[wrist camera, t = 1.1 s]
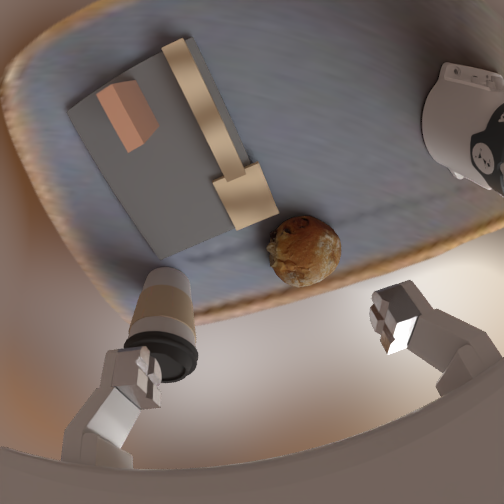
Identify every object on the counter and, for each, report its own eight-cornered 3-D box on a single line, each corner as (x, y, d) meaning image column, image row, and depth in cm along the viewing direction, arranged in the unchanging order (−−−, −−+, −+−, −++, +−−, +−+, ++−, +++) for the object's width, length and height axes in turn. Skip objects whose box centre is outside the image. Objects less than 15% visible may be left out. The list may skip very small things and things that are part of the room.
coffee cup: (163, 313, 45) (156, 395, 33) (126, 277, 40) (105, 362, 28) (209, 291, 44) (213, 378, 32) (173, 250, 38) (163, 339, 26)
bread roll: (283, 261, 47) (308, 302, 43) (245, 246, 39) (272, 296, 35) (330, 221, 44) (360, 261, 39) (300, 196, 36) (337, 243, 31)
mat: (193, 38, 23) (192, 36, 23) (270, 209, 37) (271, 213, 36) (70, 110, 25) (66, 111, 24) (161, 255, 39) (160, 260, 38)
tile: (135, 79, 24) (111, 83, 18) (159, 125, 28) (144, 143, 21) (122, 87, 25) (95, 94, 18) (146, 132, 28) (128, 153, 22)
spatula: (150, 57, 23) (145, 56, 21) (200, 33, 23) (199, 30, 21) (236, 227, 37) (238, 238, 35) (277, 210, 36) (282, 220, 34)
